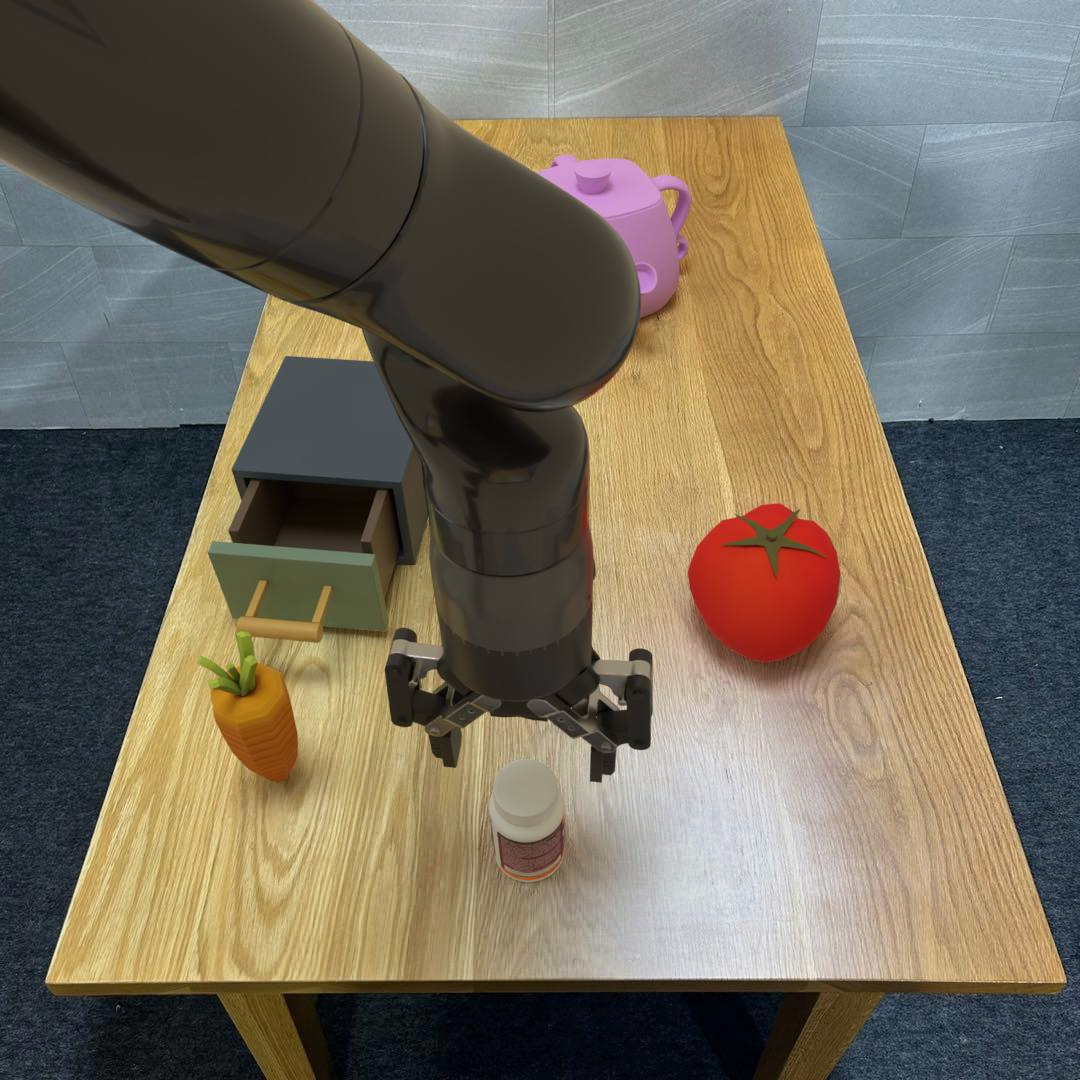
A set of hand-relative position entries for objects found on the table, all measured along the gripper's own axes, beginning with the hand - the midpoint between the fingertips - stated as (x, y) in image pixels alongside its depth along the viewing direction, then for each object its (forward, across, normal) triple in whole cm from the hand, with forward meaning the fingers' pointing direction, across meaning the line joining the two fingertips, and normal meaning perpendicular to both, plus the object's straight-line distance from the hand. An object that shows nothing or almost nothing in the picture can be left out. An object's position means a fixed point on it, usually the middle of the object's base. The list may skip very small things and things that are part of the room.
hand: (525, 761), depth 61 cm
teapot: (+12, -1, +64) cm, 65 cm away
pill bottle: (+11, 0, 0) cm, 11 cm away
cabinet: (+11, -20, +31) cm, 39 cm away
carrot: (+11, -18, +3) cm, 22 cm away
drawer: (+10, -20, +20) cm, 30 cm away
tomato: (+12, +15, +21) cm, 28 cm away
